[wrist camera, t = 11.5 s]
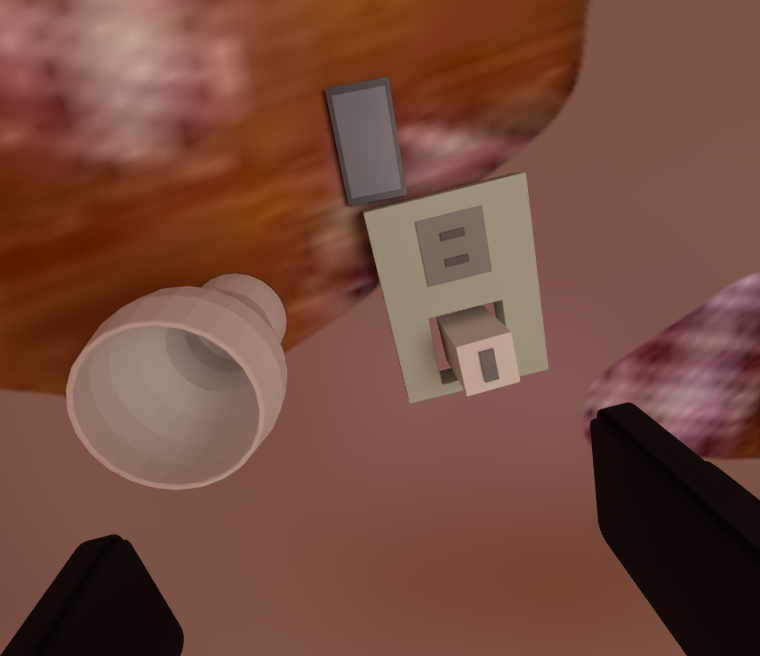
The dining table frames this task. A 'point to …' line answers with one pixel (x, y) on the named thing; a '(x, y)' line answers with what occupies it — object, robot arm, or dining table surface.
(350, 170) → the phone
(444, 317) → the block
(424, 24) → the dining table surface
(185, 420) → the cup
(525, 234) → the outlet board
